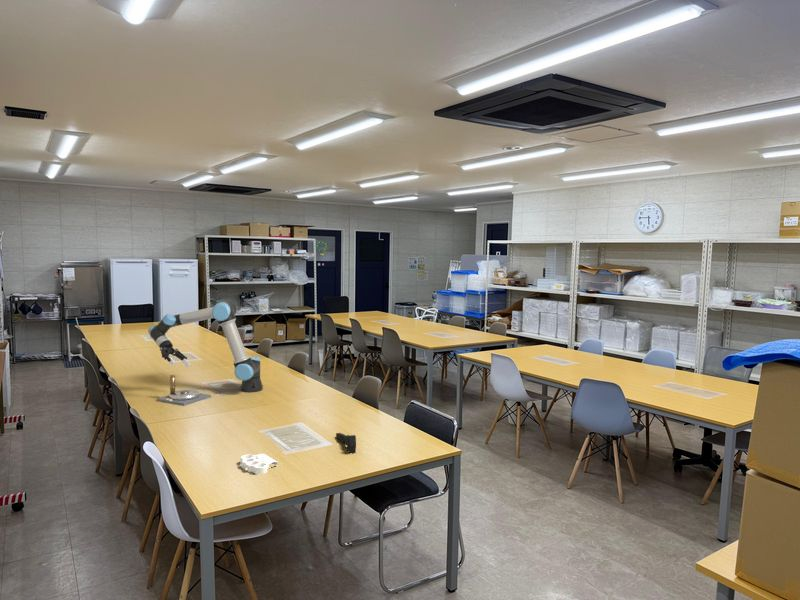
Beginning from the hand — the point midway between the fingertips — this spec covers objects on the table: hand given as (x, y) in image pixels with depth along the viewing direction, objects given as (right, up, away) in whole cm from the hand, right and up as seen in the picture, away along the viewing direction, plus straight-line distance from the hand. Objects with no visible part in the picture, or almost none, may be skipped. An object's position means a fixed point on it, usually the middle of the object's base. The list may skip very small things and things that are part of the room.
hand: (181, 365), depth 340 cm
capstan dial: (+1, -20, +2) cm, 20 cm away
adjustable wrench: (+113, -31, -75) cm, 139 cm away
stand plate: (+1, -22, +2) cm, 22 cm away
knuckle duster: (+77, -33, -103) cm, 133 cm away
